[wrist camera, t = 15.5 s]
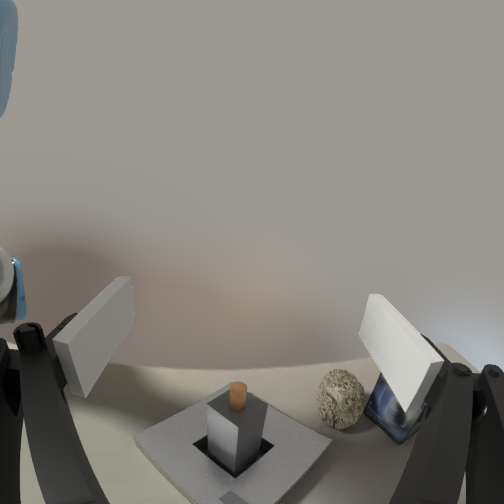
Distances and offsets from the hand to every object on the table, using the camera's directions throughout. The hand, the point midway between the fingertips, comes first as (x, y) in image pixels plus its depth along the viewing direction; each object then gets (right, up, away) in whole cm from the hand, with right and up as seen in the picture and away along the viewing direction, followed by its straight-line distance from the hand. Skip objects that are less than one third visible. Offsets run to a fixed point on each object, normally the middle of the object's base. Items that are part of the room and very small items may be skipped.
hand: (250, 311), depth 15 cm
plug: (-3, -26, +17) cm, 31 cm away
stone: (+14, -25, +26) cm, 39 cm away
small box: (+24, -27, +23) cm, 43 cm away
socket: (-3, -26, +17) cm, 31 cm away
